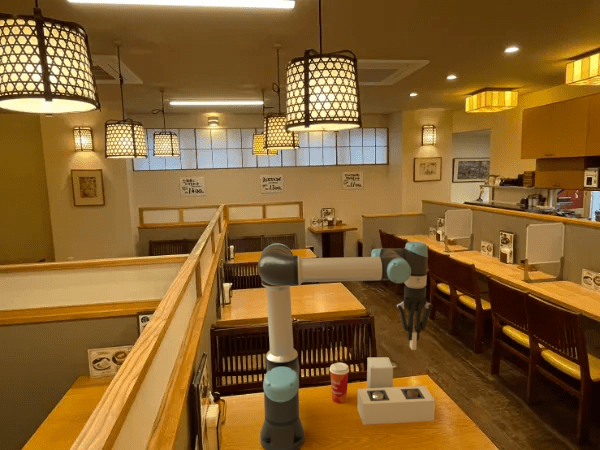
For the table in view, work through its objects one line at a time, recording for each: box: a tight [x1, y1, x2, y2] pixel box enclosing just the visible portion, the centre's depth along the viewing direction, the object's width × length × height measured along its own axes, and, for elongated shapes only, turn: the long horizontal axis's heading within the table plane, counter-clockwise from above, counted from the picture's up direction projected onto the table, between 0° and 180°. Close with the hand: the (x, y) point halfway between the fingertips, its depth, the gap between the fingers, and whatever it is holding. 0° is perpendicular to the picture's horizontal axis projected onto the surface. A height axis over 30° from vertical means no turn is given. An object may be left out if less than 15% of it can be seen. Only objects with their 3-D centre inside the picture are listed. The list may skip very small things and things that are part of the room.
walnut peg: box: [407, 390, 418, 398], centre depth 153 cm, size 4×4×8 cm
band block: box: [357, 385, 436, 426], centre depth 153 cm, size 26×10×8 cm, turn 93°
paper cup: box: [329, 361, 350, 404], centre depth 163 cm, size 8×8×14 cm
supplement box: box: [366, 356, 394, 389], centre depth 164 cm, size 9×9×15 cm
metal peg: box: [372, 391, 383, 400], centre depth 152 cm, size 4×4×8 cm
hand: (412, 348), depth 150 cm, fingers closed
